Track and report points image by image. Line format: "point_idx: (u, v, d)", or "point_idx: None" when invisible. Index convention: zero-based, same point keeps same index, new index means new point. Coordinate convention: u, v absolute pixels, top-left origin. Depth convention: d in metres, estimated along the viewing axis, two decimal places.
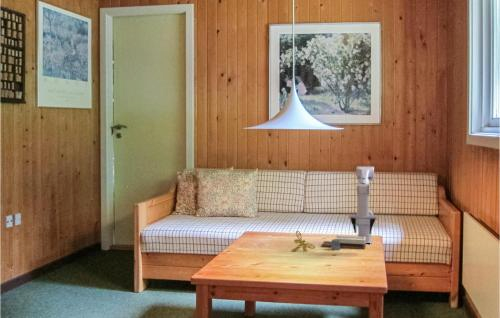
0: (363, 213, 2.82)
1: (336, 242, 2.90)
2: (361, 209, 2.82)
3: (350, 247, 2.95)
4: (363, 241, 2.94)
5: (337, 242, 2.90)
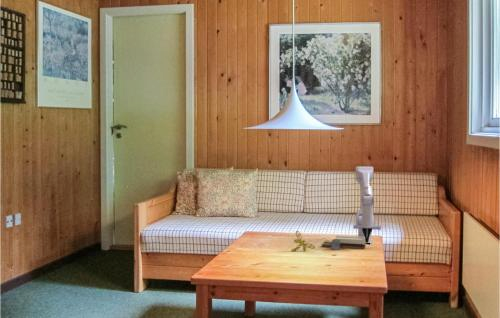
0: (367, 223, 2.95)
1: (336, 242, 2.90)
2: (365, 219, 2.95)
3: (350, 247, 2.95)
4: (362, 241, 2.94)
5: (337, 242, 2.90)
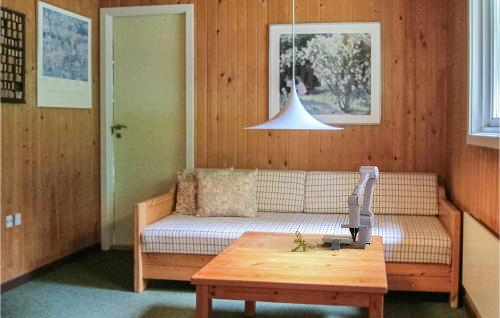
0: (354, 223, 2.97)
1: (336, 242, 2.90)
2: (352, 219, 2.97)
3: (350, 247, 2.95)
4: (349, 240, 2.96)
5: (337, 242, 2.90)
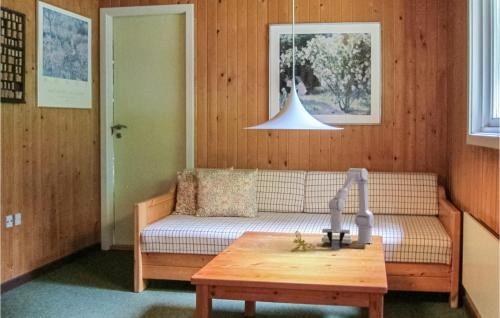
0: (336, 227, 2.89)
1: (336, 242, 2.90)
2: (334, 223, 2.90)
3: (350, 247, 2.95)
4: (349, 240, 2.96)
5: (337, 242, 2.90)
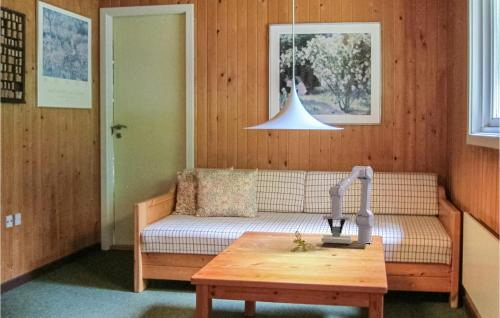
0: (336, 214, 2.91)
1: (337, 229, 2.92)
2: (334, 210, 2.91)
3: (350, 247, 2.95)
4: (349, 240, 2.96)
5: (338, 229, 2.92)
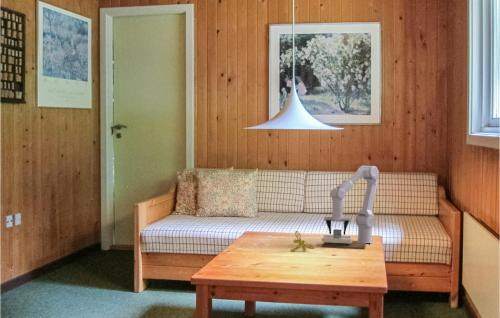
0: (337, 215, 2.99)
1: (337, 232, 3.00)
2: (335, 212, 2.99)
3: (350, 247, 2.95)
4: (349, 240, 2.96)
5: (338, 232, 3.00)
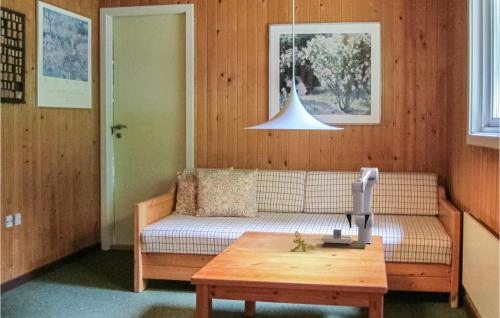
0: (358, 209, 2.95)
1: (337, 232, 3.00)
2: (356, 205, 2.95)
3: (350, 247, 2.95)
4: (349, 240, 2.96)
5: (338, 232, 3.00)
